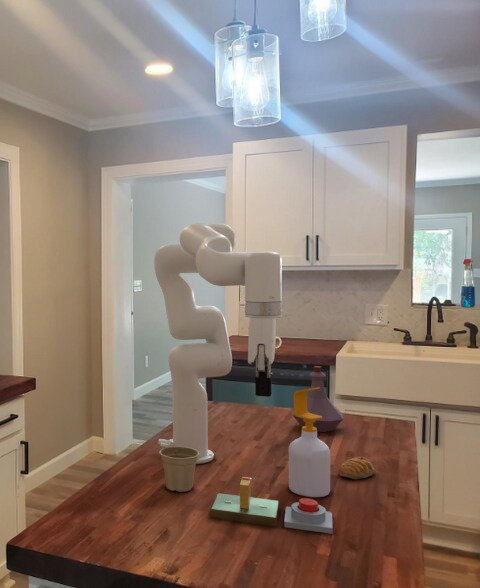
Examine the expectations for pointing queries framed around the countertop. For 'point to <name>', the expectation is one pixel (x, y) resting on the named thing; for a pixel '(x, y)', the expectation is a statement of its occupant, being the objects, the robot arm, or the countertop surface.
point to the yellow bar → (245, 492)
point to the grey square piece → (308, 519)
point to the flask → (321, 405)
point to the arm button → (308, 505)
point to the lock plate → (245, 510)
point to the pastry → (356, 468)
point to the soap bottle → (308, 454)
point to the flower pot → (179, 467)
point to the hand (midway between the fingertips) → (263, 395)
